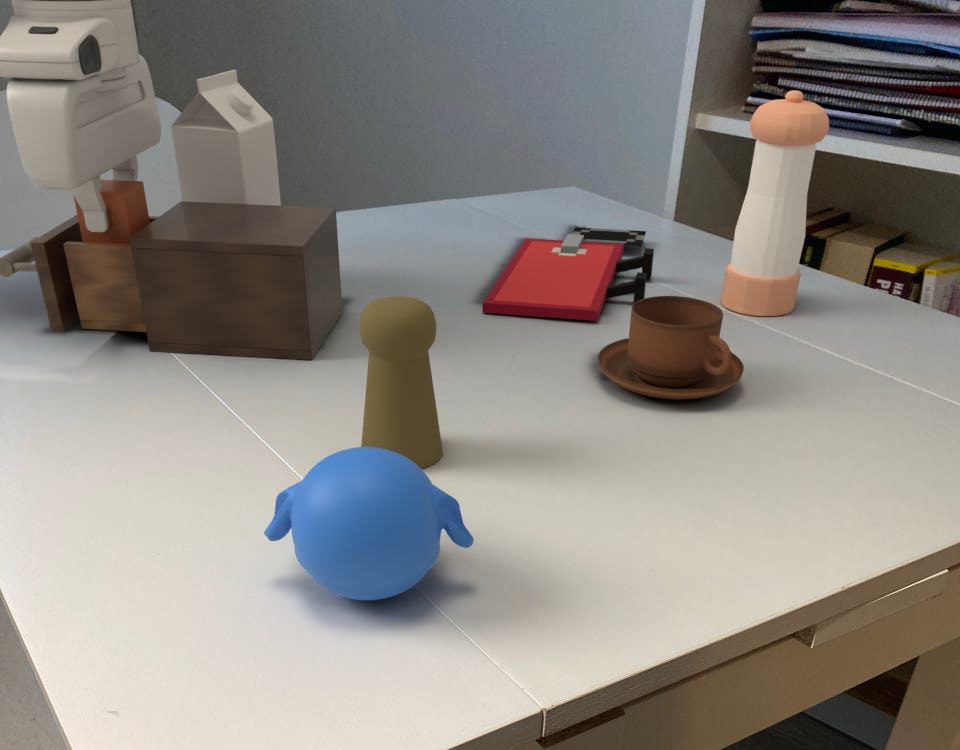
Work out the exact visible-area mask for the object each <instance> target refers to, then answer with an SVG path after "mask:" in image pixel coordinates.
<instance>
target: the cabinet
mask: <svg viewBox="0 0 960 750" xmlns="http://www.w3.org/2000/svg"><path fill="white" fill-rule="evenodd" d="M129 241H130V246H131V251H132V256H133V262H134V267H135V273H136V278H137V284H138V289H139V295H140V300H141V305H142V311H143V316H144V322H145V327H146V332H145V334H146V338H147V343H148V348H149V349H148V350H149V352H161V353H179V354H196V355H197V354H198V355H213V356H215V355H216V356H231V357H232V356H233V357H252V358H267V359H284V360H285V359H286V360H288V359H289V360H305V361H312V360H313V359H314V358H315V356H316V354H317V353H318V351H319V350H320V348H321V347H322V345H323V344H324V342H325V340H326V339H327V337H328V336H329V334H330V333H331V331H332V330H333V328H334V326H335V325H336V323H337V322H338V320H339V319H340V317H341V316H342V314H343V298H342V281H341V268H340V267H341V266H340V252H339V251H340V249H339V237H338V220H337V208H336V207H320V206H319V207H318V206H317V207H316V206H299V205H298V206H296V205H281V206H276V205H253V204H231V203H208V202H186V201H182V200H181V201H179V202H178V203H177V204H175V205H173V206H172V207H171V208H170V209H168V210H167V211H165V212H164V213H162V214H161V215H160V216H159V217H158V218H157V219H155V220H154V221H153V222H151V223H150V224H148V225H147V226H145V227H144V228H143V229H141V230H140V231H138V232H137V233H136V234H134V235H133V236H131V237H130V238H129Z"/></svg>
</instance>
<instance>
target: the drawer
mask: <svg viewBox="0 0 960 750" xmlns="http://www.w3.org/2000/svg"><path fill="white" fill-rule="evenodd" d="M158 217H160V216H158V215H156V216H155V215H149V220H150V223H151V222H153V221H154V220H155V219H157V218H158ZM17 272H29V273H37V276H38V280H39V284H40V289H41V293H42V297H43V301H44V305H45V309H46V314H47V318H48V322H49V326H50V331H51V332H57V333H58V332H59V333H65V332H66V331H67V330H69V329H70V328H72V327H73V326H74V325H76V324H77V323H78V322H80V326H81V329H83V330H99V331H100V330H101V331H116V332H117V331H118V332H136V333H137V332H138V333H139V332H140V333H146V327H145V322H144V316H143V311H142V305H141V300H140V295H139V289H138V284H137V278H136V273H135V267H134V262H133V256H132V251H131V246H130V245H128V244H108V243H87V242H83V239H82V235H81V230H80V225H79V220H78V216H77V214H76V215H74V216H72V217H70V218H69V219H67V220H66V221H64V222H62V223H61V224H59V225H57V226H56V227H54V228H52V229H51V230H48V231H47V232H45V233H44V234H42V235H41V236H39V237H38V236H35V237H33V238H31V239H29V240H27V241H26V242H24V243H23V244H21V245H20V246H18V247H16V248H15V249H13V250H11V251H10V252H7V253H6V254H4V255H3V256H1V257H0V276H2V277H4V278H9V277H11V276H13V275H15V274H16V273H17Z"/></svg>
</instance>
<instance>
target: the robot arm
mask: <svg viewBox="0 0 960 750" xmlns="http://www.w3.org/2000/svg"><path fill="white" fill-rule="evenodd" d="M11 4H12V8H13V12H14V14H13V15H11V16H10V18H9V21H8V24H7V25H6V27H5V29H4V30H3V31H2V33H1V35H0V78H3V79H10V80H9V81H8V82H7V85H6V105H7V109H8V114H9V119H10V123H11V126H12V131H13V135H14V139H15V142H16V146H17V149H18V154H19V157H20V161H21V164H22V166H23V170H24V172H25V174H26V175H27V177H28V178H29V180H30V182H31V183H32V184H33V185H34V186H35V187H36V188H37V189H43V190H63V191H70V192H71V194H72V196H73V195H74V197H75V199H76V200H77V202H78V204H79V206H80V207H81V209H82V210H83V214H84V218H85V223H86V227H87V229H88V230H89V231H91V232H105V231H106V230H108V229H109V228H111V227H112V225H113V222H112V218H111V211H110V207H105V204H104V201H103V199H102V196H101V194H100V191H99V189H101V188H102V186H101V180H102V179H101V176H102V175H103V174H105V173H107V172H109V171H111V170H112V180H121V181H138V176H139V162H138V158H137V156H138V155H140V154H141V153H143V152H145V151H147V150H149V149H151V148H153V147H154V146H156V145H158V144H159V143H160V142H161V137H162V136H161V135H162V123H161V118H160V113H159V112H160V111H159V108H158V103H157V98H156V94H155V89H154V85H153V79H152V76H151V73H150V69H149V66H148V64H147V63H148V62H147V61H146V59H145V58H144V56H142V54H140V51H139V43H138V38H137V32H136V26H135V19H134V14H133V7H132V2H131V0H11ZM74 197H73V198H74Z"/></svg>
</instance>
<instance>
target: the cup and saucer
mask: <svg viewBox="0 0 960 750" xmlns="http://www.w3.org/2000/svg"><path fill="white" fill-rule="evenodd" d="M723 318H724V312H723V310H722V309H721V308H720V307H719V306H717V305H715V303H712V302H709V301H706V300H702V299H699V298H695V297H689V296H680V295H657V296H649V297H644V299H641V300H639V301H637V302H635V303H634V304H633V303H632V306H631V311H630V321H629V331H628V332H629V333H628V338H623V339H619V340H616V341H613V342H611V343H609V344H607V345H606V346H604V347H603V348H602V349H601V350H600V351H599V352H598V356H597V360H598V366H599V369H600V370H601V372H602V373H603V374H604V375H605V377H607V378H608V379H609V380H610V381H611V382H612V383H614V384H615V385H617V386H619V387H621V388H622V389H624V390H627V391H630V392H633V393H636V394H639V395H642V396H647V397H651V398H657V399H666V400H695V399H702V398H708V397H711V396H715V395H718V394H720V393H723V392H725V391H727V390H729V389H730V388H732V387H733V386H734V385H736V384H737V383H738V382H739V381H740V379H741V378H742V376H743V373H744V369H745V367H744V366H745V365H744V363H743V361H742V360H741V358H739V357H738V356H737V355H736V354H735V353H734V352H732V351H731V349H730V346H729V344H728V343H727V342H726V341H725V340H724V339H723V338H721V337H720V335H721V332H722V331H721V330H722V324H723Z"/></svg>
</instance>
